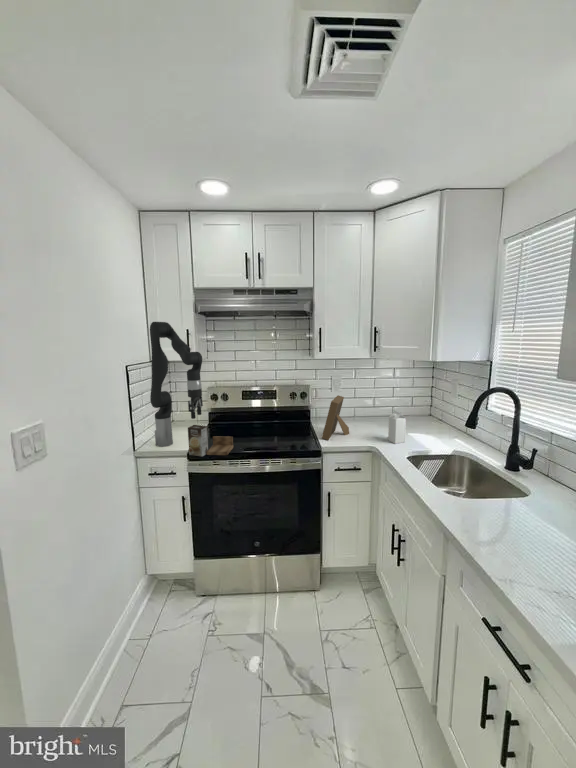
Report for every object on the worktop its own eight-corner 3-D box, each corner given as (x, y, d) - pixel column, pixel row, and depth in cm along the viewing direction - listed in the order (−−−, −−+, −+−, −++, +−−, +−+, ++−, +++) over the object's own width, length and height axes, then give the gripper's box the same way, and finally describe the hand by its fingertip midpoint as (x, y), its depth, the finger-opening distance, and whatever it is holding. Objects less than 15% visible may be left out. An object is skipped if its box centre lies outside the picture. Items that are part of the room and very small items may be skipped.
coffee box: (188, 455, 183) (186, 427, 181) (195, 451, 189) (193, 424, 187) (202, 456, 180) (200, 428, 178) (208, 452, 186) (207, 425, 184)
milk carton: (397, 439, 203) (398, 409, 200) (405, 442, 197) (406, 412, 194) (388, 440, 201) (388, 410, 198) (395, 444, 194) (396, 413, 192)
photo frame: (321, 439, 205) (322, 400, 201) (329, 430, 225) (329, 394, 222) (345, 442, 200) (346, 402, 197) (350, 432, 221) (351, 396, 217)
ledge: (206, 454, 183) (206, 442, 182) (213, 447, 195) (213, 436, 194) (227, 455, 182) (226, 443, 181) (233, 447, 194) (232, 436, 193)
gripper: (193, 386, 187) (195, 413, 189) (182, 390, 173) (184, 419, 175) (205, 386, 186) (207, 413, 188) (195, 390, 172) (198, 419, 174)
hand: (196, 416), depth 182 cm, fingers open, 8 cm apart
